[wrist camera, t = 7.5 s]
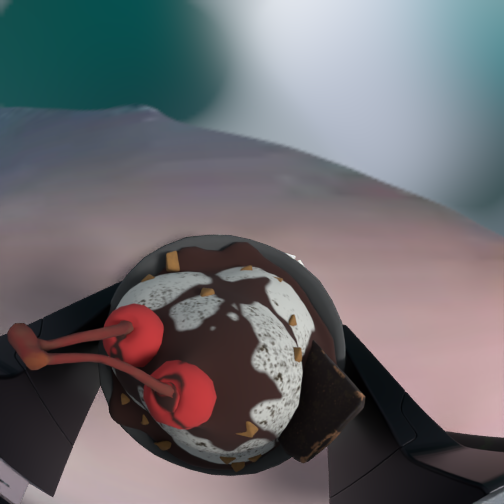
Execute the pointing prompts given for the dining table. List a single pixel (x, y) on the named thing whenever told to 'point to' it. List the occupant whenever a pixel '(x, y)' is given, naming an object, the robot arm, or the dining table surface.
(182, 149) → the dining table surface
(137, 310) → the sundae
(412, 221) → the dining table surface
